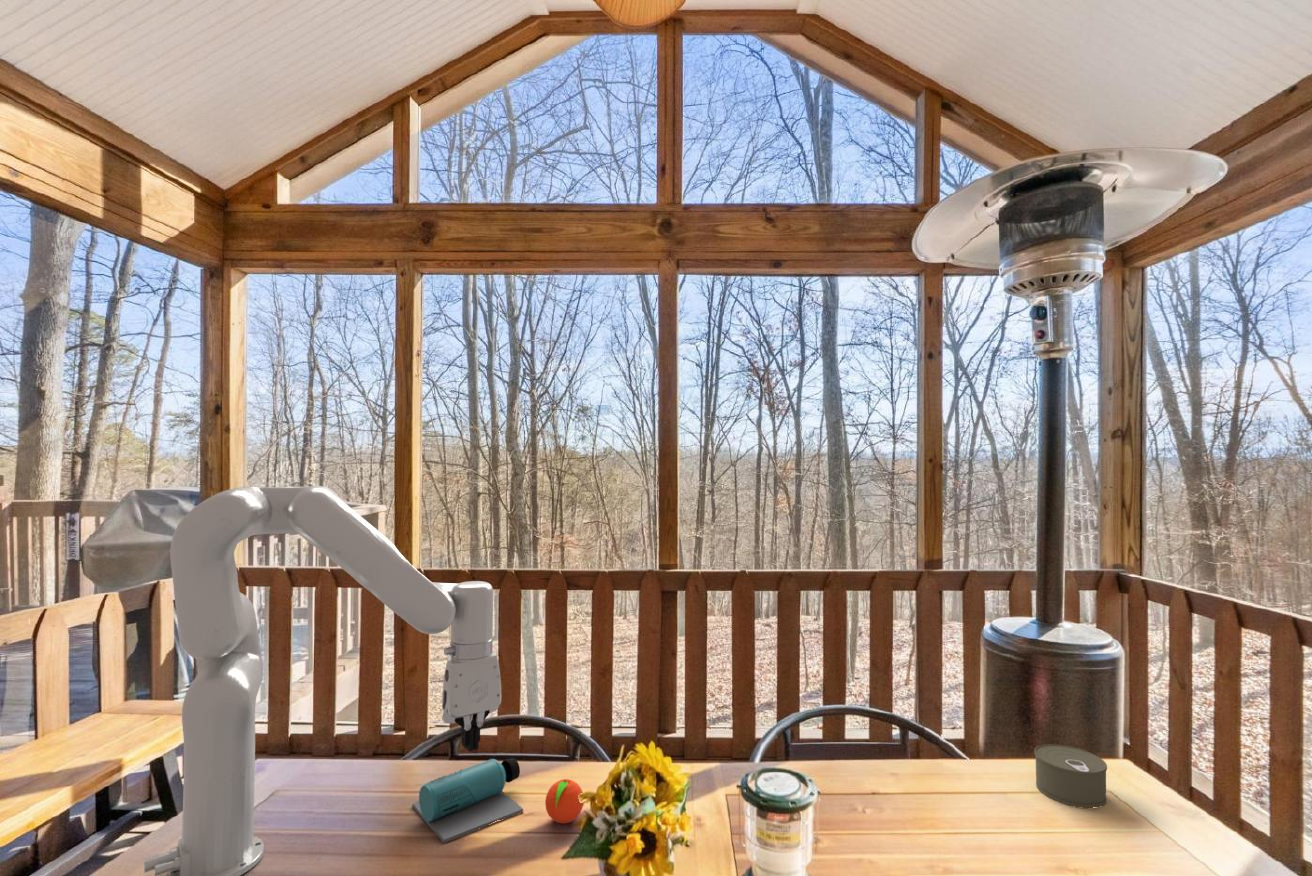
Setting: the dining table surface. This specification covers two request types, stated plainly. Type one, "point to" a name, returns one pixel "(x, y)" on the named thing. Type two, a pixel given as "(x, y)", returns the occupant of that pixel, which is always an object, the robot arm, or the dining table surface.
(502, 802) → the mat
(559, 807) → the clementine
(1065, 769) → the can
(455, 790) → the beverage bottle
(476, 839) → the dining table surface
